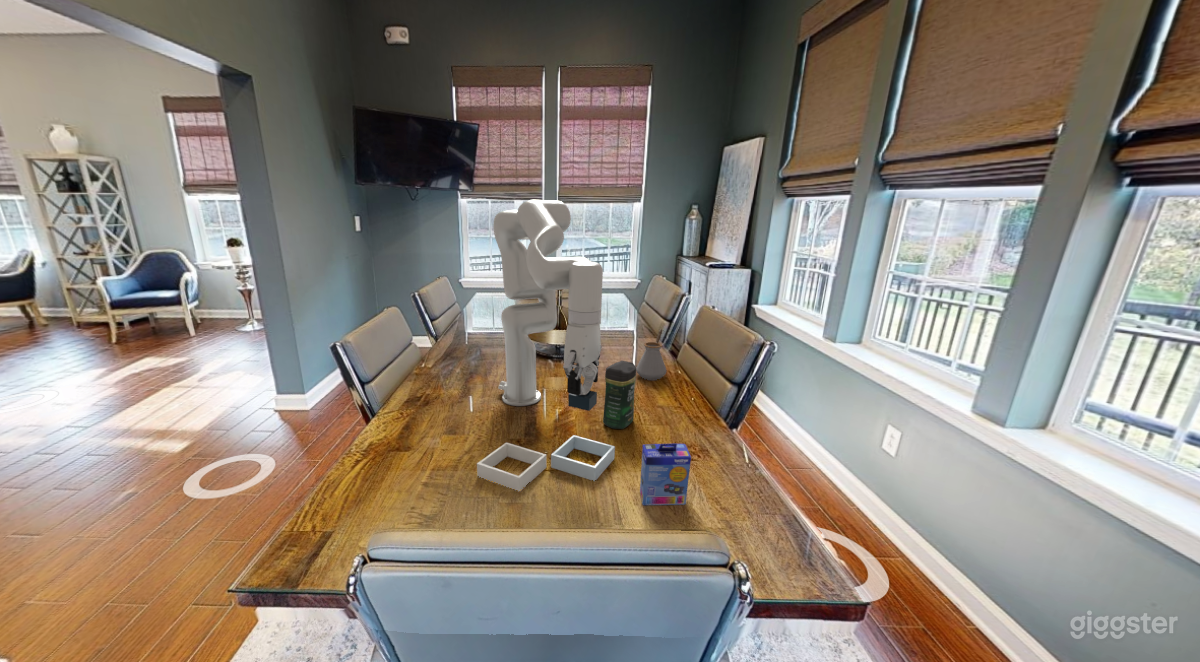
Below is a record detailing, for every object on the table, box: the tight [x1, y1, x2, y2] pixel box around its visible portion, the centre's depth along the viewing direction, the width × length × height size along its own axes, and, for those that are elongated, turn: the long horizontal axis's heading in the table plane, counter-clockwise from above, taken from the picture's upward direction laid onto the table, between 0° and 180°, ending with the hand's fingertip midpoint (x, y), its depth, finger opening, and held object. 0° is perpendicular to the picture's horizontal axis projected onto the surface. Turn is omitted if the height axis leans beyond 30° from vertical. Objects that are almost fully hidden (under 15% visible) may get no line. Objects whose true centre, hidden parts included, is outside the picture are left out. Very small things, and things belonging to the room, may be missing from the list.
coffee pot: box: [636, 329, 667, 381], centre depth 171 cm, size 21×12×15 cm, turn 160°
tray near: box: [476, 442, 548, 492], centre depth 106 cm, size 12×11×4 cm
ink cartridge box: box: [639, 443, 692, 506], centre depth 96 cm, size 10×6×14 cm, turn 95°
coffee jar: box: [602, 360, 637, 430], centre depth 130 cm, size 10×8×19 cm
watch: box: [567, 363, 599, 412], centre depth 106 cm, size 6×8×11 cm
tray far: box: [550, 434, 616, 482], centre depth 110 cm, size 12×11×4 cm
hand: (583, 386), depth 106 cm, fingers closed on watch, 8 cm apart
